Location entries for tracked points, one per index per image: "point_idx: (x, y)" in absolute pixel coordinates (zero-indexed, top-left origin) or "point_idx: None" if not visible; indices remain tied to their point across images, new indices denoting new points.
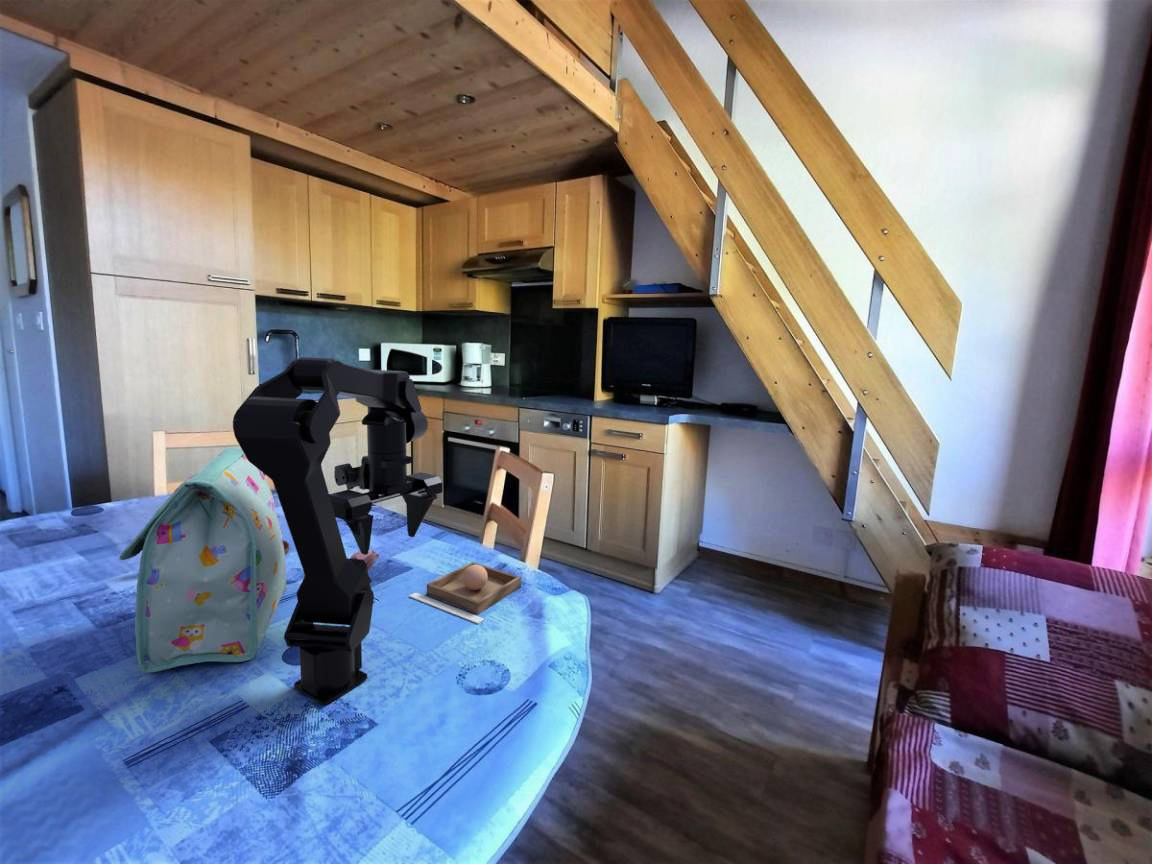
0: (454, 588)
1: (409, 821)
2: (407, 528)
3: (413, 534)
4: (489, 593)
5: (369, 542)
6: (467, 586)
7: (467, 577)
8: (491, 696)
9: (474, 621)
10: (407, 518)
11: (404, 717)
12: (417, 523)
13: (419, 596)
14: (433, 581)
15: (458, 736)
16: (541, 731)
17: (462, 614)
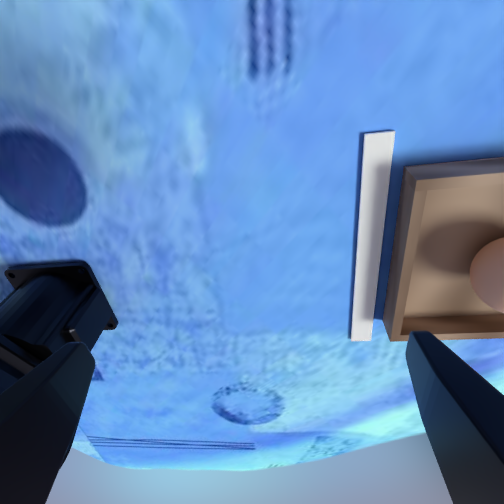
0: (472, 210)
1: (92, 444)
2: (430, 371)
3: (411, 378)
4: None
5: (61, 451)
6: (470, 267)
7: (484, 287)
8: (228, 423)
9: (351, 334)
10: (488, 447)
11: (132, 390)
12: (449, 482)
13: (379, 164)
14: (448, 179)
15: (165, 429)
16: (228, 461)
17: (361, 304)
